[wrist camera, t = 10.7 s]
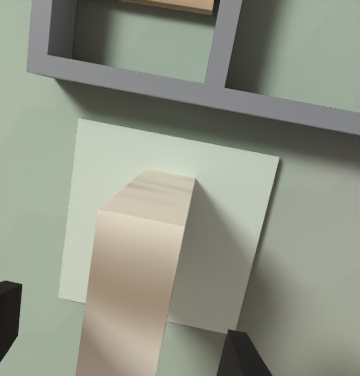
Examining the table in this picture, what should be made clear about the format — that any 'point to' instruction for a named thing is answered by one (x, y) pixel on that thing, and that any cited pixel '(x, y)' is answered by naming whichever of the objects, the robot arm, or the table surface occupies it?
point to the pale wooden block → (133, 275)
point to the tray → (164, 86)
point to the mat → (196, 222)
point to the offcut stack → (180, 5)
